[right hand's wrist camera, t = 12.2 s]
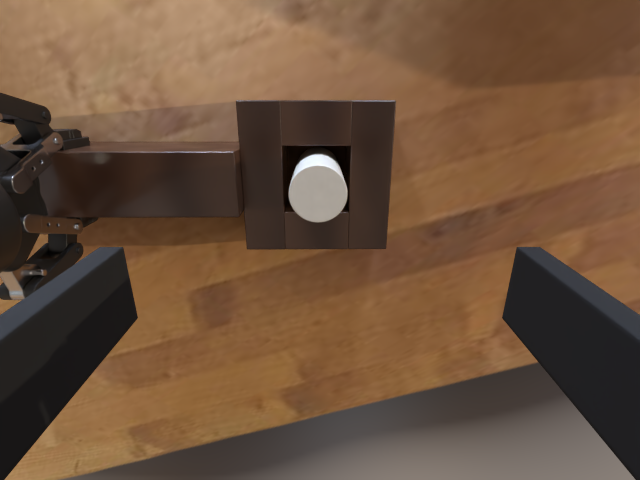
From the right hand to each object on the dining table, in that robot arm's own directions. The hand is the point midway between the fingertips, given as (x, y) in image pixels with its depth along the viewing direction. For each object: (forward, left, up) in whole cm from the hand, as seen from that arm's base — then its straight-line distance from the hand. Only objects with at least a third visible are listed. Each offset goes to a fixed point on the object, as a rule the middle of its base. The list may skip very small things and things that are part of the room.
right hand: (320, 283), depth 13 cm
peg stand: (0, -10, -23) cm, 25 cm away
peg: (0, 0, -23) cm, 23 cm away
